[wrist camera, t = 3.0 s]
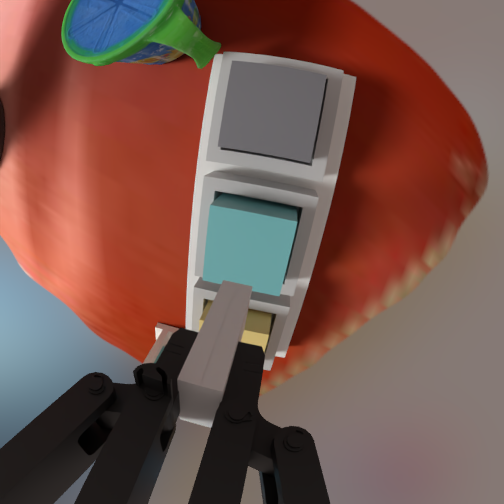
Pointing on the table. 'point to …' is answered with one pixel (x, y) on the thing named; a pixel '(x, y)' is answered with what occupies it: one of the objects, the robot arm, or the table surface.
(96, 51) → the snack cup
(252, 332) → the mustard button
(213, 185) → the board
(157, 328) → the sign
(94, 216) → the table surface
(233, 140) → the charcoal button
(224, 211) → the teal button
